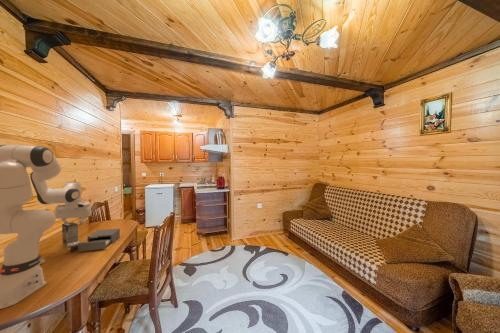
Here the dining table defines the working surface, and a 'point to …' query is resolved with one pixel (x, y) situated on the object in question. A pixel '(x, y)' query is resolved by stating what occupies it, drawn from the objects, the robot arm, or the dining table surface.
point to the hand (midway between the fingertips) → (74, 223)
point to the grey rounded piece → (74, 248)
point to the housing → (105, 235)
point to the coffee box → (69, 233)
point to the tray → (93, 245)
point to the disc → (73, 243)
